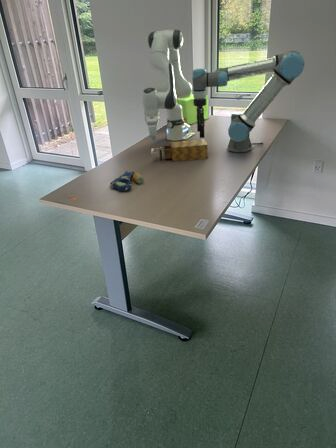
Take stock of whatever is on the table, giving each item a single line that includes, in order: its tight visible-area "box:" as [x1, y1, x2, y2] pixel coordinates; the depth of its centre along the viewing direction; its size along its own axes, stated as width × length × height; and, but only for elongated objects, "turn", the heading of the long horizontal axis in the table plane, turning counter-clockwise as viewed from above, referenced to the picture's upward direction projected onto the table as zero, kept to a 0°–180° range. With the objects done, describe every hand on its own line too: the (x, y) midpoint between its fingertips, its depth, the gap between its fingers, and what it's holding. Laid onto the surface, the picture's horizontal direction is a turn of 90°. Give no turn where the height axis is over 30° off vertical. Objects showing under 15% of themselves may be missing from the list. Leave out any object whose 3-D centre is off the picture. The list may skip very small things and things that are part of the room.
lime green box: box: [177, 92, 209, 126], centre depth 283 cm, size 25×21×23 cm
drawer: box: [150, 144, 172, 161], centre depth 210 cm, size 26×10×7 cm, turn 91°
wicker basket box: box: [170, 138, 208, 162], centre depth 210 cm, size 22×11×9 cm, turn 91°
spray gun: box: [109, 170, 144, 192], centre depth 182 cm, size 21×4×15 cm
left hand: (154, 140), depth 206 cm, fingers closed
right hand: (200, 134), depth 205 cm, fingers open, 13 cm apart
